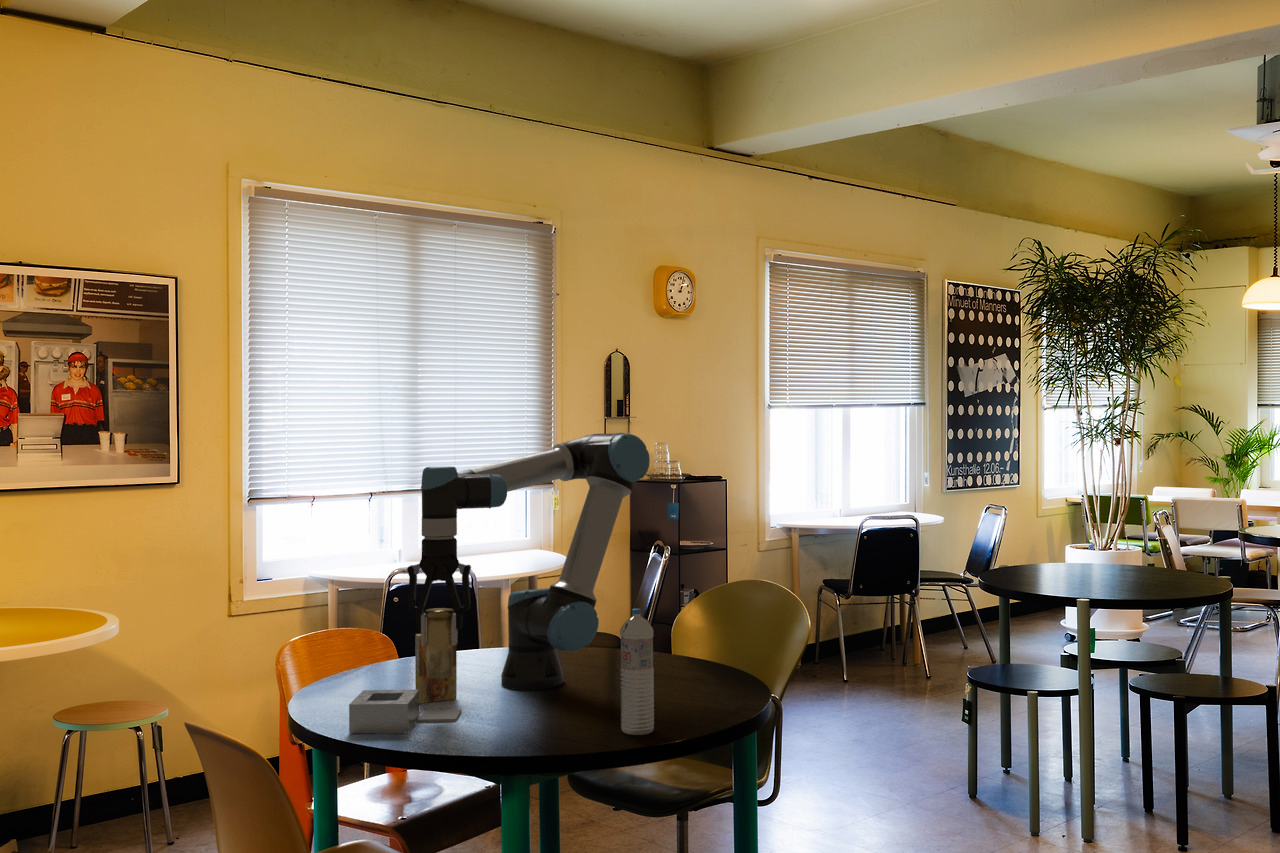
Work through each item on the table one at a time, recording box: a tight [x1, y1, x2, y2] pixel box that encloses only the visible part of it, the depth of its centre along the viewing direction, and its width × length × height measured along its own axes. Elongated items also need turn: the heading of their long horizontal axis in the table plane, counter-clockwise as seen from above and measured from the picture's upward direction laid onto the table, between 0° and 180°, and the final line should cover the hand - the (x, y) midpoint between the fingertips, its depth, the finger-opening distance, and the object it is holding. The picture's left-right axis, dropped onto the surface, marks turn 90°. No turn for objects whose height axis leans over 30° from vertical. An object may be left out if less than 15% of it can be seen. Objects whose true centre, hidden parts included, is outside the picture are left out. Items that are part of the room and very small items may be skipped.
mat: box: [417, 708, 462, 723], centre depth 222 cm, size 8×8×1 cm
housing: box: [348, 689, 420, 734], centre depth 216 cm, size 12×12×6 cm
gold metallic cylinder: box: [424, 607, 454, 679], centre depth 222 cm, size 6×6×14 cm
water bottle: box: [619, 608, 655, 736], centre depth 210 cm, size 7×7×25 cm
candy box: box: [414, 633, 458, 704], centre depth 237 cm, size 9×4×15 cm, turn 116°
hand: (439, 644), depth 222 cm, fingers closed on gold metallic cylinder, 6 cm apart
